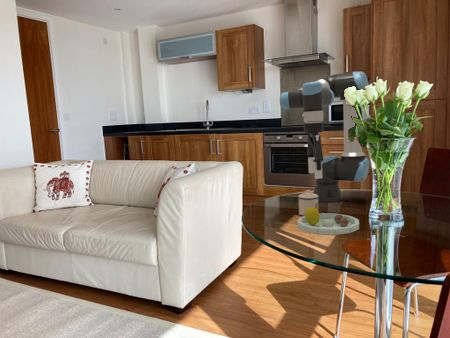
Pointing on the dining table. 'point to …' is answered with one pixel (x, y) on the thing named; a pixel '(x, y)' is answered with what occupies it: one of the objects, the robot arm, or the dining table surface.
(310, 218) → the lemon
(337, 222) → the walnut bead
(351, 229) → the tray
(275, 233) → the dining table surface
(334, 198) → the robot arm
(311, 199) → the teacup with lid
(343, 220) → the walnut bead
